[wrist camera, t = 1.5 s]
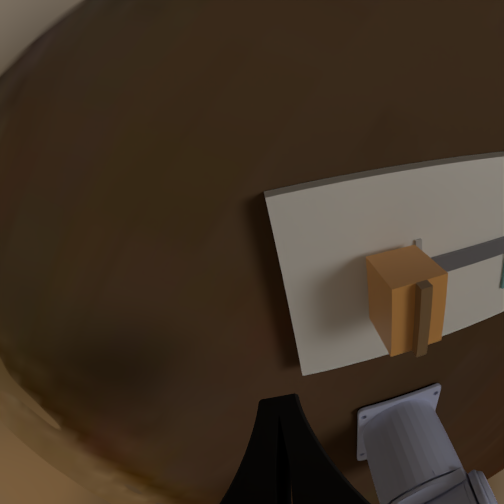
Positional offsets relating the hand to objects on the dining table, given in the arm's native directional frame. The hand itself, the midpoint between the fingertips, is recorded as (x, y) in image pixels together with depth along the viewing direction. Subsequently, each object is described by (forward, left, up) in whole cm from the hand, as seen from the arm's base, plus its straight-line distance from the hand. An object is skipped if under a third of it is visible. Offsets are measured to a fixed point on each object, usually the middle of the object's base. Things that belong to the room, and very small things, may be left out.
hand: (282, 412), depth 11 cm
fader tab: (0, -7, -7) cm, 10 cm away
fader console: (0, -15, -9) cm, 18 cm away
